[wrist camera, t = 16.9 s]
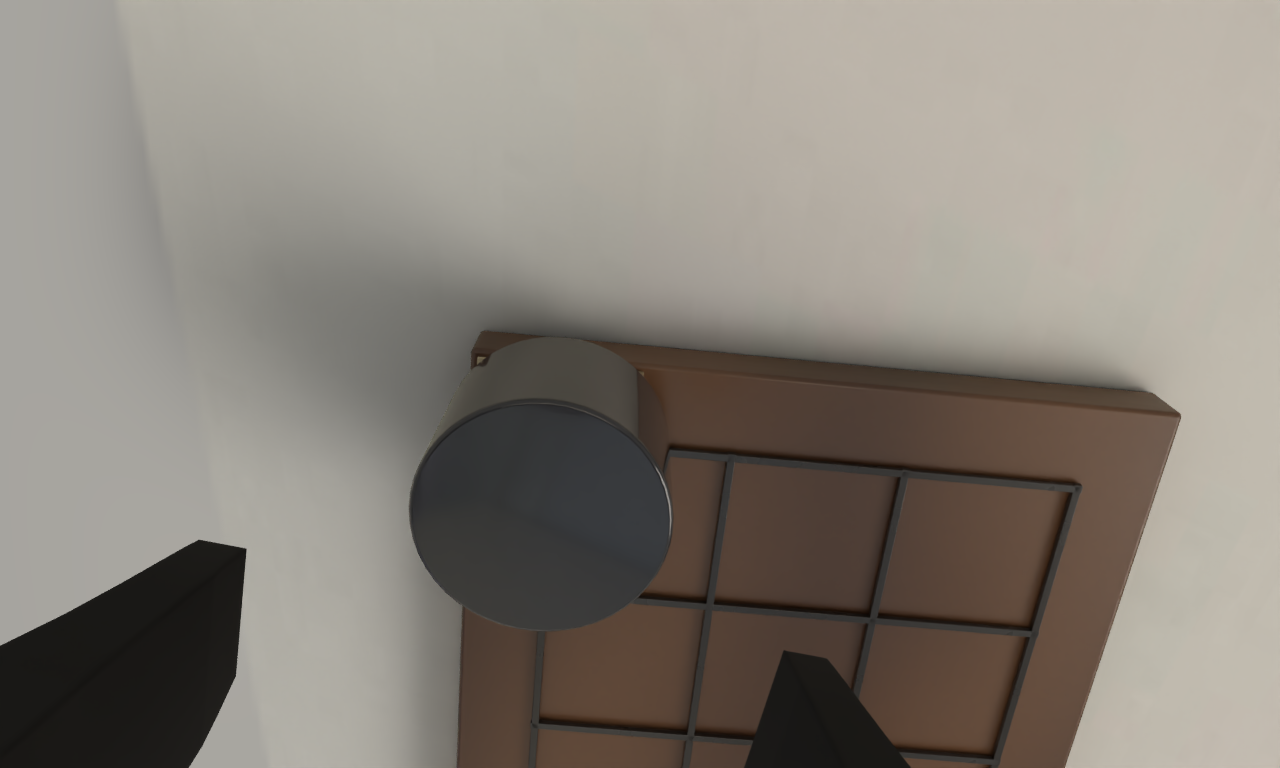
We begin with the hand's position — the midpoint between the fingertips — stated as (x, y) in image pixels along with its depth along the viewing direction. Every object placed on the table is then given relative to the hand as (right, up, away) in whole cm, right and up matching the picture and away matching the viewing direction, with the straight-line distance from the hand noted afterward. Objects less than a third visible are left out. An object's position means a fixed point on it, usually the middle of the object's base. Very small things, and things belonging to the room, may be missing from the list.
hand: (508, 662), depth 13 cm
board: (+5, -2, +10) cm, 11 cm away
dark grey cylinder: (0, +3, +6) cm, 7 cm away
